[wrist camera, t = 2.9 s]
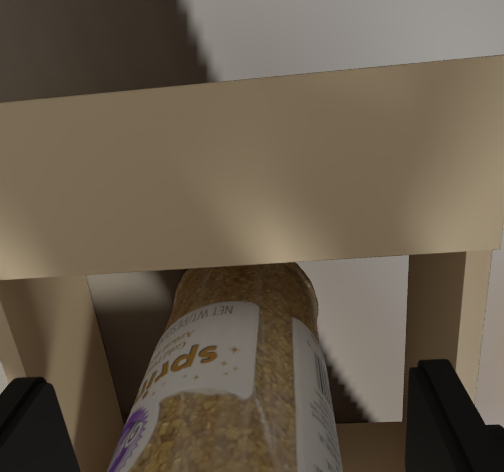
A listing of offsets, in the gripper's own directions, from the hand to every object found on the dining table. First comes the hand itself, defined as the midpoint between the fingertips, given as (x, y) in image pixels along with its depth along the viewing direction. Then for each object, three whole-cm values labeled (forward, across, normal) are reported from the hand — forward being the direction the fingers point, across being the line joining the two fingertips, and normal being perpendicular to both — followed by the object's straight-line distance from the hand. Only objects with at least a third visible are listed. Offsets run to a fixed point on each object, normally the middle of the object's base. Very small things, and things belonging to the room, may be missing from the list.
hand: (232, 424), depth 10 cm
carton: (+5, 0, 0) cm, 5 cm away
